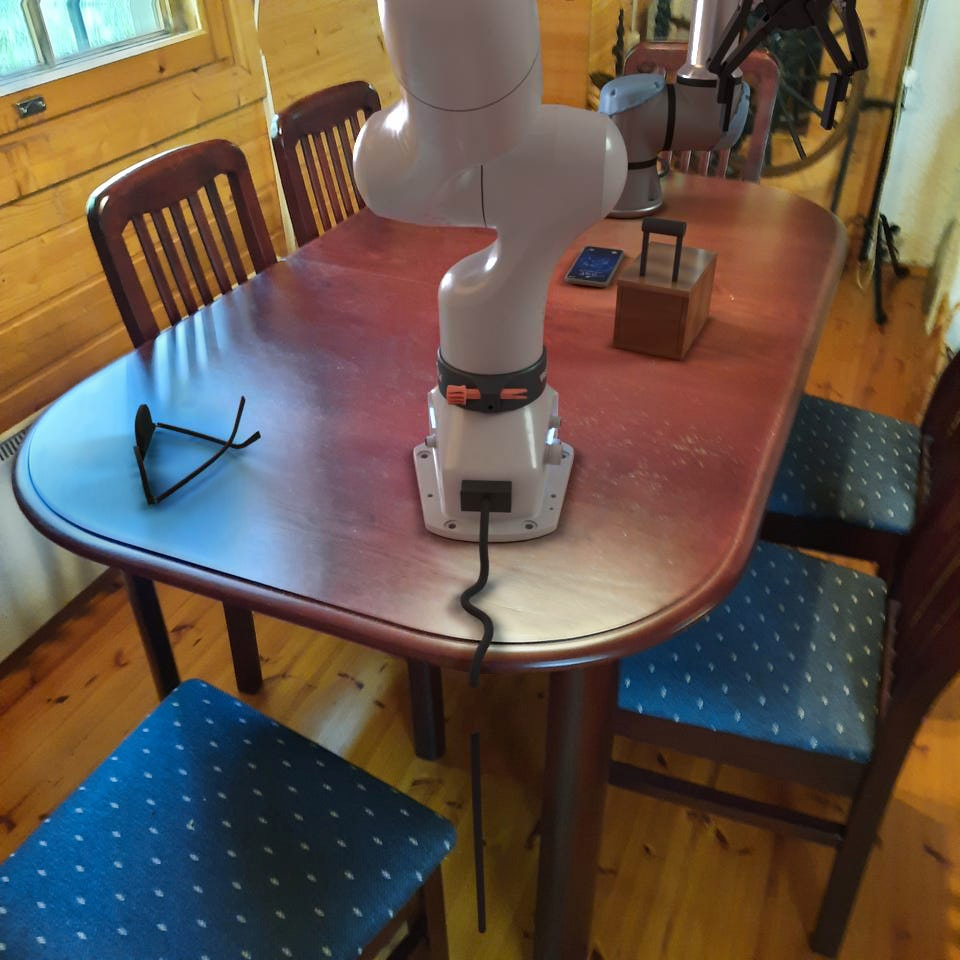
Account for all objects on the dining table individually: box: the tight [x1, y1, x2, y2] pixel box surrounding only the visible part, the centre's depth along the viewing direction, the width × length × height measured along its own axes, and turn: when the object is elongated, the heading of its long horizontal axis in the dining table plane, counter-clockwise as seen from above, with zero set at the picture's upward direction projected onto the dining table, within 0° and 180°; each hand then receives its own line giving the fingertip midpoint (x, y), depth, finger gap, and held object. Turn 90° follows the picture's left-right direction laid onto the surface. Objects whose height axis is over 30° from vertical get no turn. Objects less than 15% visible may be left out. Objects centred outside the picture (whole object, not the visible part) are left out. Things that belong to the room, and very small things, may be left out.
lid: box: [615, 216, 719, 298], centre depth 117 cm, size 15×10×9 cm, turn 153°
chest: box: [612, 257, 718, 362], centre depth 123 cm, size 15×10×10 cm
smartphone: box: [564, 245, 625, 288], centre depth 144 cm, size 7×1×15 cm
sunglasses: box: [132, 395, 262, 506], centre depth 100 cm, size 17×14×5 cm
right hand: (774, 128), depth 115 cm, fingers open, 13 cm apart
